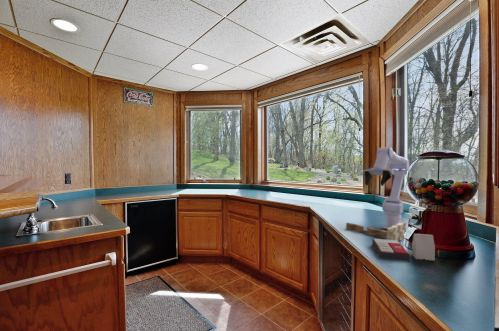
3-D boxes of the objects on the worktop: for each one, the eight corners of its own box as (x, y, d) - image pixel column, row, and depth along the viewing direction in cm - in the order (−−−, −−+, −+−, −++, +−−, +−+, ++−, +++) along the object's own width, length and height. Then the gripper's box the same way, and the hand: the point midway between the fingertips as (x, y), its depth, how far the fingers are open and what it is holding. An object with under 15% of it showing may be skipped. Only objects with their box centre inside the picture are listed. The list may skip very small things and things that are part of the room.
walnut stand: (346, 228, 139) (346, 223, 139) (348, 228, 140) (348, 222, 140) (385, 238, 121) (385, 232, 121) (387, 237, 123) (387, 231, 123)
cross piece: (401, 236, 124) (401, 221, 124) (405, 237, 123) (405, 222, 123) (387, 244, 113) (387, 228, 113) (391, 245, 112) (391, 229, 112)
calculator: (380, 250, 98) (372, 237, 112) (380, 260, 98) (372, 245, 112) (410, 253, 94) (398, 239, 109) (410, 263, 95) (397, 248, 109)
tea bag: (434, 260, 95) (434, 236, 95) (415, 258, 97) (415, 235, 97) (430, 257, 98) (431, 233, 98) (412, 255, 100) (412, 232, 100)
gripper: (364, 160, 129) (357, 179, 124) (393, 159, 118) (386, 179, 112) (369, 168, 132) (362, 187, 127) (397, 168, 121) (391, 188, 115)
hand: (373, 184), depth 120 cm, fingers open, 7 cm apart
